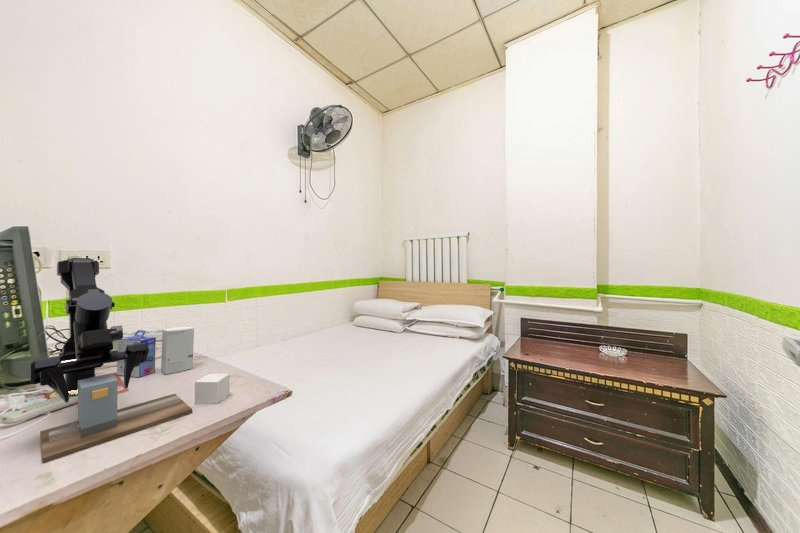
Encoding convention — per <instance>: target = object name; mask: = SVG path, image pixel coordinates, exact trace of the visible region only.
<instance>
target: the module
mask: <svg viewBox="0 0 800 533" xmlns="http://www.w3.org/2000/svg"><path fill="white" fill-rule="evenodd" d="M117 410H118V379H117V378H116V376H115V375H114V373H113V372H112V373H107V374H103V375H98V376H95V377H92V378H87V379H82V380H78V394H77V421H78V424H80V427H81V438H82V437H86V436H89V435H92V434H95V433H98V432H102V431H105V430H108V429H111V428H114V427H117Z"/></svg>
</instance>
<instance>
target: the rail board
mask: <svg viewBox="0 0 800 533" xmlns="http://www.w3.org/2000/svg"><path fill="white" fill-rule="evenodd" d="M190 414H193V408H192V407H191V406H190V405H188V403H186V402H185V401H184V400H183V399H182V398H181V397H180V396H179V395H177V393H172V394H168V395H164V396H161V397H158V398H154V399H151V400H146V401H144V402H140V403H139V402H138V403H137V404H134V405H133V404H132V405H129V406H126V407H122V408H119V409H118V408H117V427H114V428H111V429H108V430H105V431H102V432H98V433H95V434H92V435H89V436H86V437H82V438H81V427H80V424H78V420H75V421H72V422H69V423H65V424H62V425H59V426H54V427H51V428H47V429H43V430H40V432H39V435H40V436H39V438H40V448H41V450H40V451H41V461H42V464H44V463H47V462H51V461H54V460H57V459H60V458H63V457H66V456H69V455H71V454H75V453H77V452H80V451H83V450H86V449H89V448H93V447H96V446H99V445H102V444H104V443H107V442H111V441H113V440H116V439H119V438H122V437H125V436H128V435H131V434H134V433H137V432H140V431H143V430H146V429H149V428H152V427H155V426H158V425H161V424H163V423H166V422H170V421H172V420H175V419H179V418H182V417H185V416H187V415H190Z"/></svg>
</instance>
